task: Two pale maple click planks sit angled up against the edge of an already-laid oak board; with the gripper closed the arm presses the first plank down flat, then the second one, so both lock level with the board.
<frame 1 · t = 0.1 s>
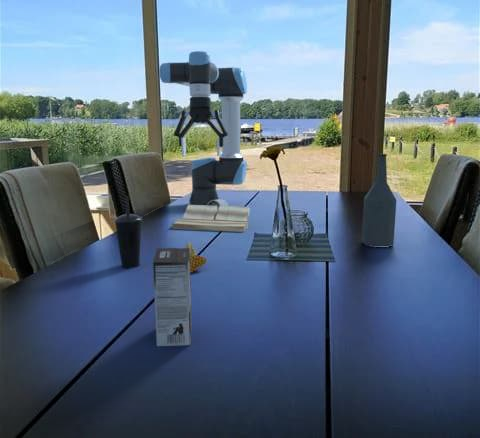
hand: (201, 155, 169), 28 cm above the table, tool pointing down, fingers open, 13 cm apart
plank 1: (200, 213, 185), point 3 cm above the table, hinge at 30.0°
laid board: (210, 227, 176), on the table
bottle: (377, 244, 151), on the table
coffee box: (174, 336, 86), on the table
plank 2: (232, 215, 182), point 3 cm above the table, hinge at 30.0°
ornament: (190, 268, 128), on the table
ceramic mug: (215, 216, 198), on the table
drinking cup: (130, 266, 129), on the table
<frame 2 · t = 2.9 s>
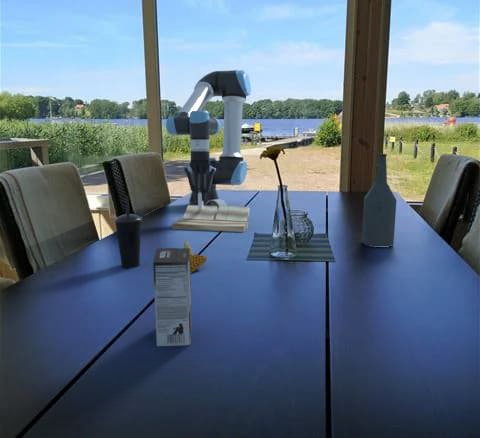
hand: (200, 208, 184), 6 cm above the table, tool pointing down, fingers closed
plank 1: (200, 214, 185), point 3 cm above the table, hinge at 28.4°, touching gripper
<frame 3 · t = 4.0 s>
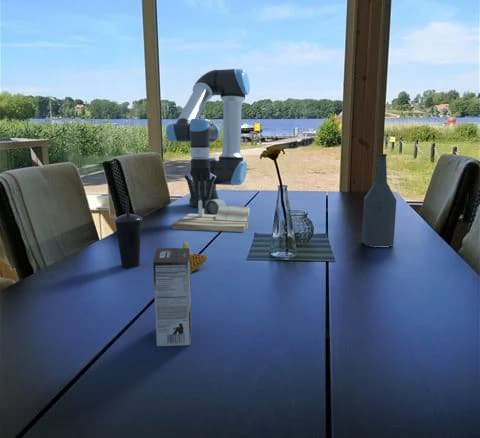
hand: (201, 216, 185), 2 cm above the table, tool pointing down, fingers closed
plank 1: (200, 219, 185), point 1 cm above the table, hinge at 2.9°, touching gripper
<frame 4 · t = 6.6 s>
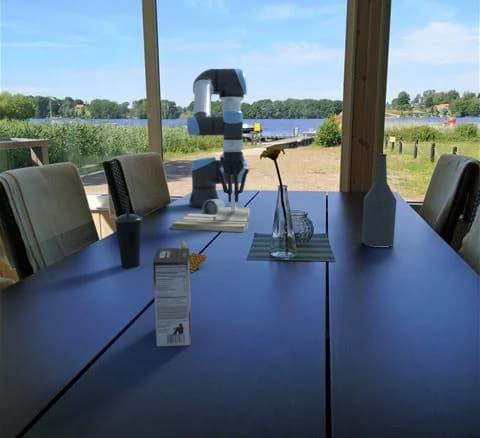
hand: (233, 210, 182), 5 cm above the table, tool pointing down, fingers closed
plank 1: (200, 219, 185), point 1 cm above the table, hinge at 2.9°
plank 2: (232, 215, 182), point 3 cm above the table, hinge at 27.6°, touching gripper
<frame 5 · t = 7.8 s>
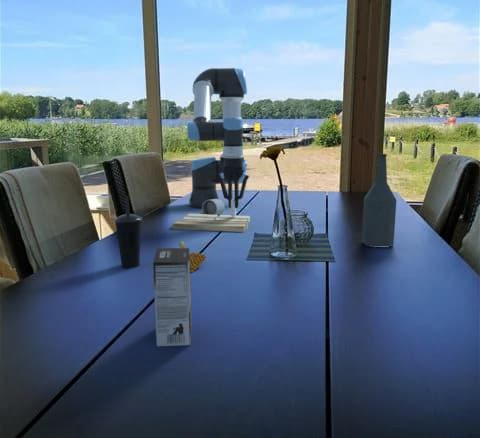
hand: (233, 215, 183), 3 cm above the table, tool pointing down, fingers closed
plank 2: (232, 220, 183), point 1 cm above the table, hinge at 3.0°
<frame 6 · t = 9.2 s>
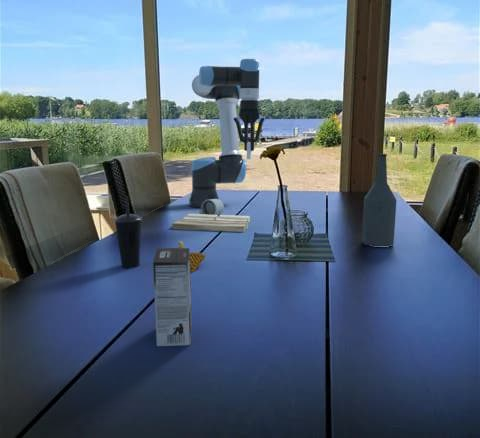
hand: (249, 158, 186), 25 cm above the table, tool pointing down, fingers closed
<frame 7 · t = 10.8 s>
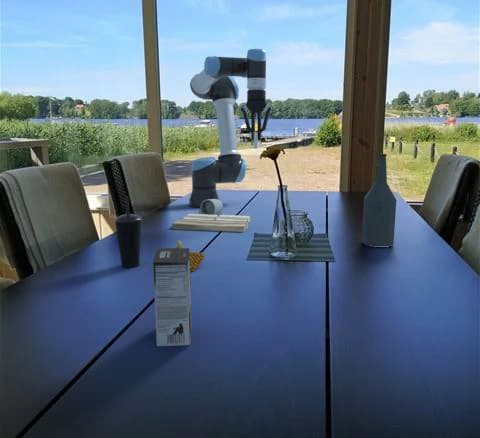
hand: (256, 148, 188), 29 cm above the table, tool pointing down, fingers closed
at the end: plank 1 at +3° (first picture: +30°); plank 2 at +3° (first picture: +30°) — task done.
